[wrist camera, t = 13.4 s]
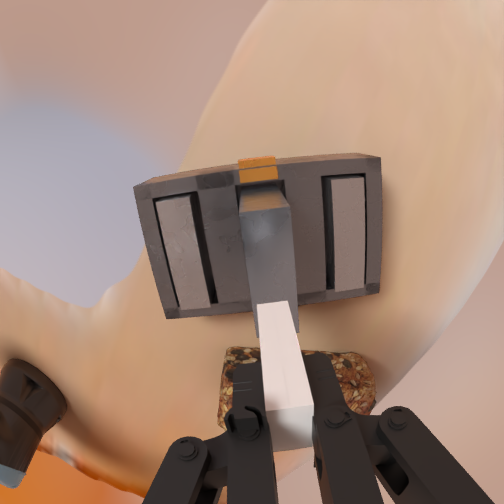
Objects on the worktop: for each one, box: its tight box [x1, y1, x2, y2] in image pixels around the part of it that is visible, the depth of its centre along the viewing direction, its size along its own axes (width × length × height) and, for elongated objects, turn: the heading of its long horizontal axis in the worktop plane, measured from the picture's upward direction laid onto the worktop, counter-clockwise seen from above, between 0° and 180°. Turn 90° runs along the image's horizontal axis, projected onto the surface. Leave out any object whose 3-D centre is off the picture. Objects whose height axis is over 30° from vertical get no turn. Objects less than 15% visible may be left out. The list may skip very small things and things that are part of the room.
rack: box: [133, 153, 382, 319], centre depth 28 cm, size 21×14×7 cm, turn 97°
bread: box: [217, 347, 377, 431], centre depth 35 cm, size 19×11×10 cm, turn 82°
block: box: [239, 182, 299, 338], centre depth 24 cm, size 9×3×10 cm, turn 7°
